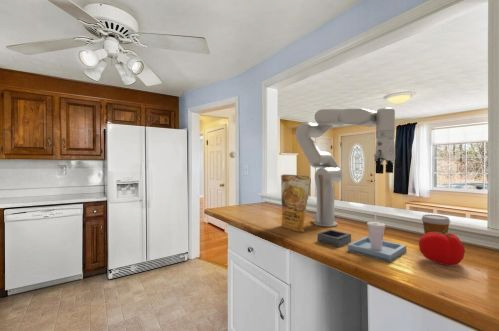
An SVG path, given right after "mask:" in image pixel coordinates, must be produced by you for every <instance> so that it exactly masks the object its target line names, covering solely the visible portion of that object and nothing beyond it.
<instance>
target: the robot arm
mask: <svg viewBox="0 0 499 331" xmlns="http://www.w3.org/2000/svg"><path fill="white" fill-rule="evenodd" d="M395 119H396V111H395V109H394V108H392V107H381V108H378V109H377V110H376V111H375V110H370V109H367V108H339V109H338V108H321V109H318V110H317V111H316V112H315V113H314V120H315V122H316V123H315V122H309V121H305V122H301V123H299V124H298V126H296V127H297V128H296V129H295V138H296V141H297V144H298V145H299V147H300V148H301V150H302V152H303V154H304V156H305V158H306V160H307V161H308V163H309V165H310V166H311V167H312V168H314V169H316V168H317V170H316V171H315V173H314V181H315V187H316V188H315V190H316V195H315V196H316V214H312V215H311V219H313V224H314V225H316V226H319V227H326V228H328V227H329V228H331V227H332V228H333V227H336V226H338V221H335V189H334V186H333V184H339V183H340V182H341V181H342V179H343V172H342V169H341V168H340V166H339V165H338V163H337V161H336V159H335V158H334V156H333V155H332V153H330V152H328V151H321V150H320V148H319V147H318V145H317V143H316V142H315V141H314V140H313V139H312V138H314V139H315V138H320V137H322V136H323V135H325V133H327V132H328V131H329V130H330V129H331V128H333V127H334V126H340V127H341V126H344V125H355V126H356V125H357V126H364V127H369V128H371V127H375V140H376V143H375V153H374V155H373V157H374V164H375V174H380V175H382V174H384V166H385V173H387V174H388V173H389V174H393V173H394V163H395V162H394V161H395V160H396V144H395V143H396V142H395V137H396V136H395V125H396V121H395ZM384 161H385V163H386V164H384Z"/></svg>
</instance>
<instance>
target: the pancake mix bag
mask: <svg viewBox="0 0 499 331" xmlns="http://www.w3.org/2000/svg"><path fill="white" fill-rule="evenodd" d="M280 179H281V180H280V181H281V184H280V185H281V187H280V188H281V198H280V200H281V226H282V228H284V229H287V230H291V231H293V232H297V233H299V232H302V233H305V230H304V224H305V223H304V222H305V220H306V219H305V218H306V210H307V206H308V205H307V204H308V199H309V194H310V188H311V187H310V186H311V182H312V181H311V177H310V176H308V175H297V174H281V175H280Z"/></svg>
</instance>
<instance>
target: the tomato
mask: <svg viewBox="0 0 499 331" xmlns="http://www.w3.org/2000/svg"><path fill="white" fill-rule="evenodd" d="M418 248H419V251H420V253H421V255H423V257H425V258H426V259H427V260H428V261H431V262H434V263H436V264H438V265H439V264H440V265H445V266H456V265H458V264H460V263H461V261H462V260H464V256H465V254H466V253H465V251H466V250H465V246H464V244H463V242H462V241H461V240H460V238H459V237H458V236H457V235H455V234H453V233H451V232H448V233H445V231H443V232H442V233H440V232H432V231H431V232H428V233H423V234H422V236H420V237H419V240H418Z"/></svg>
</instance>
